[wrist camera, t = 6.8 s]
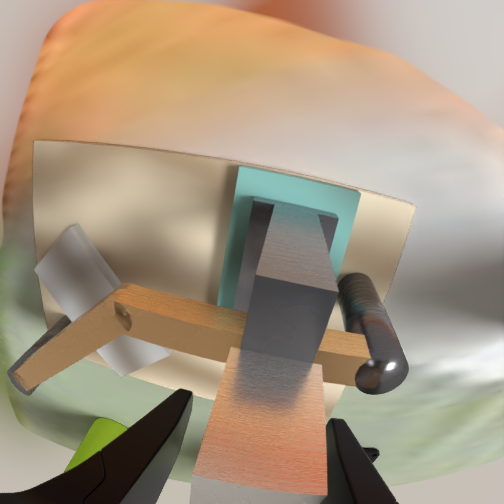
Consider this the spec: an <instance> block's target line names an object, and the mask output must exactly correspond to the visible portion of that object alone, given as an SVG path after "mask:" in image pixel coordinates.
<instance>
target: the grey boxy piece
mask: <svg viewBox="0 0 504 504" xmlns="http://www.w3.org/2000/svg"><path fill="white" fill-rule="evenodd" d="M338 220H339V218H338V216H337V214H336V213H332V212H327V211H323V210H319V209H314V208H310V207H305V206H301V205H296V204H292V203H287V202H283V201H278V200H273V199H268V198H263V197H258V196H255V198H254V199H253V203H252V209H251V214H250V219H249V225H248V230H247V236H246V241H245V247H244V252H243V258H242V263H241V269H240V274H239V280H238V286H237V291H236V297H235V302H234V308H233V309H235V310H239V311H244V312H248V314H247V319H246V323H245V328H244V333H243V338H242V343H241V348H240V349H238V348H234V347H231V349H230V352H229V355H228V359H227V362H226V365H225V369H224V372H223V375H222V378H221V382H220V385H219V388H218V392H217V395H216V398H215V401H214V405H213V408H212V411H211V415H210V418H209V421H208V424H207V428H206V431H205V434H204V437H203V441H202V444H201V447H200V451H199V454H198V457H197V460H196V463H195V467H194V470H193V473H192V482H191V495H190V504H320V502H321V501H322V500H323V499H324V498H325V497H326V496H327V451H326V425H325V405H324V389H323V374H322V365H320V364H314V363H313V362H314V360H315V357H316V354H317V352H318V349H319V347H320V344H321V341H322V339H323V336H324V333H325V330H326V328H327V325H328V322H329V319H330V316H331V314H332V311H333V308H334V305H335V302H336V299H337V296H338V293H339V291H338V287H337V283H336V279H335V275H334V271H333V267H332V263H331V260H330V256H329V253H330V250H331V246H332V242H333V239H334V235H335V231H336V228H337V224H338Z"/></svg>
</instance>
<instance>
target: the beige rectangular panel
mask: <svg viewBox="0 0 504 504" xmlns="http://www.w3.org/2000/svg"><path fill="white" fill-rule="evenodd" d="M255 196H258V197H263V198H268V199H273V200H278V201H283V202H287V203H292V204H296V205H301V206H305V207H310V208H314V209H319V210H323V211H327V212H332V213H336V214H337V216H338V218H339V220H338V224H337V228H336V231H335V235H334V239H333V242H332V246H331V250H330V253H329V256H330V260H331V263H332V267H333V271H334V275H335V279H336V283H337V286H338V284H339V282H340V280H341V279H342V278H343V277H345V276H346V275H348V274H351V273H356V272H359V273H363V274H366V275H367V276H368V277H370V279H371V280H372V282H373V284H374V286H375V288H376V291H377V293H378V295H379V297H380V299H381V301H382V304H383V303H384V300H385V298H386V295H387V293H388V290H389V287H390V285H391V282H392V279H393V277H394V274H395V271H396V269H397V266H398V263H399V260H400V257H401V254H402V251H403V248H404V245H405V242H406V239H407V236H408V233H409V230H410V227H411V223H412V220H413V217H414V213H415V210H416V206H415V205H413V204H412V203H410V202H407V201H403V200H400V199H396V198H393V197H389V196H386V195H382V194H379V193H375V192H371V191H368V190H364V189H360V188H356V187H352V186H348V185H344V184H340V183H336V182H332V181H328V180H324V179H320V178H315V177H311V176H307V175H302V174H298V173H293V172H288V171H284V170H279V169H274V168H269V167H264V166H259V165H254V164H248V163H243V162H238V161H232V160H226V159H220V158H214V157H208V156H202V155H195V154H189V153H182V152H175V151H167V150H160V149H152V148H143V147H135V146H125V145H115V144H105V143H93V142H80V141H64V140H45V139H43V140H36V141H34V152H33V220H34V236H35V248H36V259H37V266H36V267H35V269H34V271H35V273H36V274H37V276H38V277H39V283H40V289H41V296H42V302H43V307H44V313H45V318H46V323H47V328H48V330H49V329H50V328H51V327H52V326H53V325H54V324H56V323H57V322H58V321H59V320H60V319H61V318H62V317H63V316H65V315H67V316H68V318H69V319H70V320H71V321H72V322H73V321H74V320H76V319H77V318H78V317H79V316H81V315H82V314H83V313H84V312H86V311H87V310H88V309H90V308H91V307H92V306H94V305H95V304H96V303H97V302H99V301H100V300H101V299H103V298H104V297H105V296H107V295H108V294H109V293H111V292H112V291H113V290H115V289H116V288H117V287H119V286H120V285H121V284H123V283H132V284H135V285H139V286H143V287H146V288H150V289H154V290H158V291H161V292H165V293H169V294H173V295H177V296H181V297H185V298H189V299H193V300H197V301H201V302H205V303H209V304H213V305H218V306H222V307H226V308H231V309H233V308H234V302H235V297H236V291H237V286H238V280H239V274H240V269H241V263H242V258H243V252H244V247H245V241H246V236H247V230H248V225H249V219H250V214H251V209H252V203H253V199H254V198H255ZM327 329H333V330H338V331H344V332H345V329H344V325H343V320H342V315H341V311H340V306H339V302H338V297H337V299H336V302H335V305H334V308H333V311H332V314H331V316H330V319H329V322H328V325H327ZM84 358H85V359H88V360H90V361H93V362H95V363H98V364H100V365H103V366H106V367H108V368H111V369H113V370H114V371H115V372H116V373H117V374H118V375H119V376H120V377H123V376H126V375H130V376H133V377H136V378H139V379H142V380H145V381H148V382H151V383H154V384H157V385H161V386H164V387H167V388H170V389H174V390H178V389H180V388H183V389H186V390H190V391H192V392H193V395H195V396H199V397H203V398H207V399H211V400H215V398H216V395H217V392H218V388H219V385H220V382H221V378H222V375H223V372H224V369H225V365H226V363H223V362H218V361H214V360H210V359H206V358H202V357H198V356H195V355H191V354H187V353H183V352H180V351H176V350H173V349H169V348H166V347H162V346H159V345H156V344H152V343H149V342H146V341H143V340H139V339H136V338H133V337H130V336H127V335H124V334H123V335H121V336H119V337H118V338H116V339H114V340H113V341H111V342H109V343H107V344H106V345H104V346H102V347H101V348H99V349H97V350H96V351H94V352H92V353H91V354H89V355H87V356H86V357H84ZM345 386H346V385H340V384H333V383H326V382H323V389H324V405H325V421H327V420H328V418H329V416H330V415H331V413H332V411H333V409H334V407H335V405H336V404H337V402H338V400H339V398H340V396H341V394H342V392H343V390H344V388H345Z"/></svg>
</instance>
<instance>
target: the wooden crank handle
mask: <svg viewBox="0 0 504 504" xmlns="http://www.w3.org/2000/svg"><path fill="white" fill-rule="evenodd" d="M337 287H338V291H339V293H338V296H337V297H338V302H339V306H340V311H341V315H342V320H343V325H344V329H345V332H344V331H338V330H333V329H327V328H326V330H325V333H324V336H323V339H322V341H321V344H320V347H319V349H318V352H317V354H316V357H315V360H314V362H313V363H314V364H320V365H322V374H323V382H326V383H333V384H340V385H348V386H356V387H357V388H358V389H359V390H360V391H362V392H363V393H366V394H371V395H377V394H383V393H386V392H389V391H391V390H393V389H395V388H396V387H398V386H399V385H400V384H401V383H402V382H403V381H404V380H405V378H406V376H407V374H408V370H409V367H408V363H407V360H406V358H405V355H404V353H403V350H402V348H401V345H400V343H399V341H398V338H397V336H396V333H395V331H394V329H393V326H392V324H391V322H390V319H389V317H388V315H387V313H386V310H385V308H384V306H383V304H382V301H381V299H380V297H379V295H378V293H377V291H376V288H375V286H374V284H373V282H372V280H371V279H370V277H368V276H367V275H366V274H363V273H359V272H356V273H351V274H348V275H346V276H345V277H343V278H342V279H341V280H340V282H339V284H338V286H337ZM247 314H248V312H244V311H239V310H235V309H231V308H226V307H222V306H218V305H213V304H209V303H205V302H201V301H197V300H193V299H189V298H185V297H181V296H177V295H173V294H169V293H165V292H161V291H158V290H154V289H150V288H146V287H143V286H139V285H135V284H132V283H123V284H121V285H120V286H119V287H117V288H116V289H115V290H113V291H112V292H111V293H109V294H108V295H107V296H105V297H104V298H103V299H101V300H100V301H99V302H97V303H96V304H95V305H94V306H92V307H91V308H90V309H88V310H87V311H86V312H84V313H83V314H82V315H81V316H79V317H78V318H77V319H76V320H74V321H73V322H72V321H71V320H70V319H69V318H68V316H67V315H65V316H63V317H62V318H61V319H60V320H59V321H58V322H57V323H56V324H54V325H53V326H52V327H51V328H50V329H49V330H48V331H47V332H46V333H45V334H44V335H43V336H42V337H41V338H40V339H39V340H38V341H37V342H36V343H35V344H34V345H33V346H32V347H31V348H30V349H29V350H27V351H26V352H25V353H24V354H23V355H22V356H21V357H20V358H19V359H18V360H17V362H16V363H15V364H14V365H13V366H12V367H11V368H10V369H9V370H8V376H9V378H10V380H11V382H12V383H13V384H14V386H15V387H16V388H17V389H18V390H19V391H21V392H22V393H23V394H25V395H28V396H30V395H31V394H32V393H33V392H34V390H35V389H36V388H37V387H38V386H39V385H40V383H42V382H43V381H45V380H47V379H48V378H50V377H52V376H54V375H55V374H57V373H59V372H60V371H62V370H64V369H65V368H67V367H69V366H70V365H72V364H74V363H75V362H77V361H79V360H81V359H82V358H84V357H86V356H87V355H89V354H91V353H92V352H94V351H96V350H97V349H99V348H101V347H102V346H104V345H106V344H107V343H109V342H111V341H113V340H114V339H116V338H118V337H119V336H121V335H123V334H124V335H127V336H130V337H133V338H136V339H139V340H143V341H146V342H149V343H152V344H156V345H159V346H162V347H166V348H169V349H173V350H176V351H180V352H183V353H187V354H191V355H195V356H198V357H202V358H206V359H210V360H214V361H218V362H223V363H226V362H227V359H228V355H229V352H230V349H231V347H234V348H238V349H240V348H241V343H242V338H243V333H244V328H245V323H246V319H247Z"/></svg>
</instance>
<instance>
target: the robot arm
mask: <svg viewBox="0 0 504 504" xmlns="http://www.w3.org/2000/svg"><path fill="white" fill-rule="evenodd" d="M192 402H193V392H192V391H190V390H186V389H183V388H180V389H178V390H177V391H175V392H174V393H173V394H172V395H170V396H169V397H168V398H167V399H165V400H164V401H163V402H162V403H160V404H159V405H158V406H157V407H155V408H154V409H153V410H152V411H150V412H149V413H148V414H147V415H145V416H144V417H143V418H141V419H140V420H139V421H138V422H136V423H135V424H134V425H132V426H131V427H130V428H128V429H127V430H126V431H124V432H123V433H122V434H121V435H119V436H118V437H117V438H115V439H114V440H113V441H111V442H110V443H109V444H107V445H106V446H105V447H103V448H102V449H101V451H100V450H99V451H97V452H96V453H95V454H93V455H92V456H91V457H89V458H88V459H86V460H85V461H83V462H82V463H80V464H79V465H77V466H75V467H73V468H72V469H70V470H68V471H66V472H64V473H62V474H60V475H59V476H56V477H54V478H52V479H51V480H48V481H46V482H44V483H42V484H40V485H38V486H36V487H33V488H31V489H29V490H25V491H22V492H15V493H0V504H155V503H156V502H157V500H158V498H159V496H160V493H161V491H162V489H163V487H164V485H165V483H166V481H167V479H168V476H169V474H170V472H171V470H172V468H173V466H174V464H175V461H176V459H177V457H178V454H179V451H180V448H181V445H182V442H183V438H184V435H185V432H186V428H187V425H188V422H189V418H190V415H191V411H192ZM326 451H327V496H326V497H325V498H324V499H323V500H322V501H321V502H320V504H399V503H398V502H396V499H395V497H394V496H393V494H392V493H391V491H390V490H389V488H388V487H387V485H386V483H385V482H384V480H383V479H382V477H381V476H380V474H379V473H378V471H377V470H376V468H375V467H374V465H373V464H372V463H373V462H374V461H375V460H376V458H377V457H378V456H379V455H380V454H379V450H377V449H363V448H362V447H361V445H360V444H359V442H358V441H357V439H356V437H355V436H354V434H353V433H352V431H351V430H350V428H349V427H348V425H347V423H346V422H345V421H344V420H343V419H337V418H331V419H330V420H329V421H328V423H327V425H326Z"/></svg>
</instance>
